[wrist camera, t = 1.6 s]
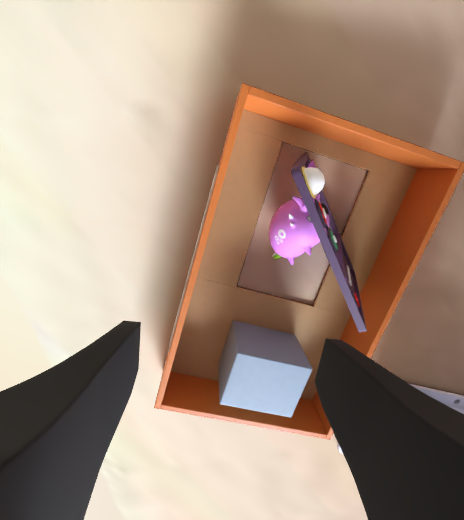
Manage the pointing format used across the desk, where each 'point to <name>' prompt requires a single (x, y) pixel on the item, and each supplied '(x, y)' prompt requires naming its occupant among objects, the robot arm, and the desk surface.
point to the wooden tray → (330, 295)
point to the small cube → (262, 370)
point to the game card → (314, 232)
